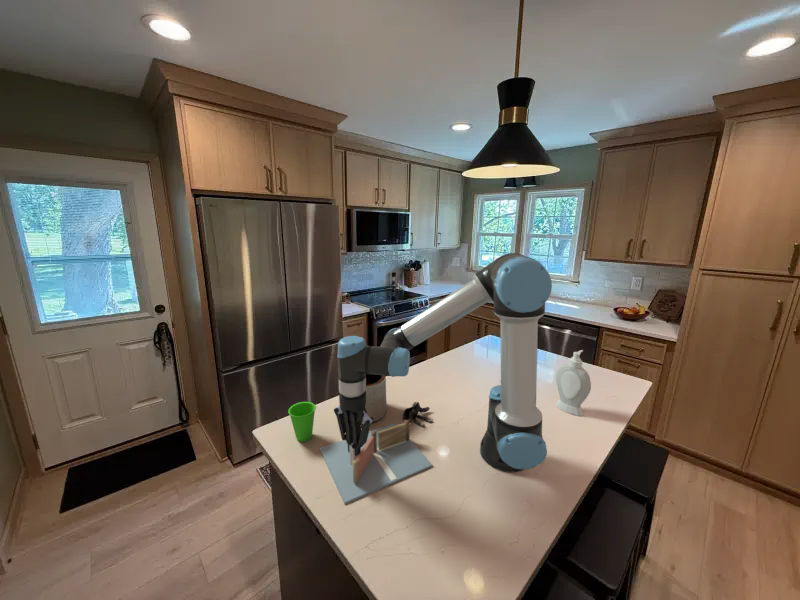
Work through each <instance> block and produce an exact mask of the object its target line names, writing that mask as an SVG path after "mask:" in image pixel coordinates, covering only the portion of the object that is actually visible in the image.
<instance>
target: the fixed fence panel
mask: <svg viewBox="0 0 800 600" xmlns="http://www.w3.org/2000/svg"><path fill="white" fill-rule="evenodd" d="M410 424H411V423H410V421H409V420H404V422H402V423H399V424H397V425H396V426H393V427H390V428H387V429H384V430H381V431H378V449H379V450H380V449H382V448H385V447H388V446H390V445H393V444H396V443H399V442H401V441H404V440H406V441H409V439H410V430H411V429H410V428H411V426H410ZM371 431H372V436H373V437H374V453H376V452H377V432H376V431H373V430H371Z"/></svg>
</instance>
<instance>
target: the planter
mask: <svg viewBox="0 0 800 600" xmlns="http://www.w3.org/2000/svg"><path fill="white" fill-rule="evenodd" d="M387 405H388V404H387V377H386V376H384V375H374V374H366V405H365V408H366V411H367V415H368V416H369V417H373V418H374V420H373V422H372V423H374V422H377V421H379V420H380V419H381V418H383V417H384V416H385V415H386V412H387ZM363 420H364V418H363V419H362V423H361V425H363Z"/></svg>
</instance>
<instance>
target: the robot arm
mask: <svg viewBox="0 0 800 600" xmlns="http://www.w3.org/2000/svg"><path fill="white" fill-rule="evenodd" d="M552 284H553V283H552V278H551V275H550V273H549V272H548V270H547V269H546V268H545V266H544V265H543V264H542V263H541V262H540V261H538V260H536V259H535V258H532V257H530V256H526V255H523V254H520V253H517V252H516V253H514V252H511V253H505V254H503V255H501V256H499V257H497V258H496V259H494V260H493V261H491V262H490V263H488V264H487V265H485V267H483V268H482V269H480V270H479V271H477V272H476V273H474V274H473V279H472V280H470V281H469V282H467V283H466V284H464V285H462V286H461V287H459V288H457V289H456V290H454V291H453V292H452V293H450V294H448V295H447V296H445V297H444V298H442V299H440V300H439V301H437V302H435V303H434V304H433V305H431V306H430V307H427V309H425V310H423V311H422V312H420V313H418V314H417V315H416V316H414V317H413V318H411V319H409V320H408V321H406V322H404V323H403V324H402V325H401V326H399V327H394V328H392V329H390V330H389V331H388V332H387V333H386V334H385V335H384V338H383V340H382V342H381V344H380V346H373V345H367V344H366V340H365V338H364V337H362V336H358V335H348V336H344V337H342V338H341V339H340V340H339V341H338V342H337V356H336V357H337V369H338V392H339V393H338V398H339V405H337V406H336V407H335V408H334V409H333V412H334V414H335V417H336V419H337V424H338V428H339V432H340V437H341V441H343V440H346V441H347V444H348V452H349V453H350V465H352V466H353V461H354V460H356V459H357V457H358V455H359V454H360V452H361V447H362V446H363V445H364V444H365V443H366V442H367V438H368V434H369V432H370V431H371V430H370V428H371V424H373V423H374V422H373V420H374V418H373V417H369V416H368V415H367V411H366V408H365V405H366V374H374V375H384V376H387V377H392V378H394V377H406V376H407V375H408V374H409V373H410V363H411V355H410V350H412V349H413V348H414V347H416V346H418V345H419V344H421V343H423V342H424V341H426V340H428V339H429V338H431V337H433V336H434V335H436V334H438V333H439V332H441V331H442V330H444V329H446V328H447V327H449V326H450V325H453V324H454V323H456V322H457V321H459V320H460V319H462V318H464V317H466V316H467V315H468V314H470V313H472V312H473V311H475V310H477V309H478V308H480V307H482V306H483V305H485V304H487V303H493V313H494V315H495V316H497V317H498V318H499V319H500V320H499V321H500V324H499V325H500V384H499V385H498V384H497V385H495V386H493V387H492V388H490V391H489V395H488V398H489V401H488V410H487V411H488V414H487V427H486V431H485V433H484V435H483V437H482V439H481V441H480V447H479V454H480V456H481V458H482V460H483V461H484V462H486V464H488V465H489V466H491V467H492V468H494V469H496V470H499V471H501V472H502V471H503V472H506V473H518V472H521V471H524V470H530V469H534V468H535V467H537V466H538V465H541V464H542V463H543V462H544V461H545V459H546V457H547V456H548V455H547V454H548V449H547V443H546V440H544V438H543V414H542V411H541V410H540V409H539V408H538V407H537V382H538V381H537V377H538V375H537V374H538V370H537V368H538V333H539V331H538V330H539V327H538V326H539V324H538V322H539V320H540V319H541V318H542V317H543V316H544V315H545V314H546V302H548V300H549V298H550V296H551V294H552V288H553V285H552ZM363 418H364V420H363V424H361V423H362V419H363Z"/></svg>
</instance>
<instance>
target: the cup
mask: <svg viewBox="0 0 800 600" xmlns="http://www.w3.org/2000/svg"><path fill="white" fill-rule="evenodd" d="M316 409H317V406H316V404H314V403H313V402H311V401H310V402H309V401H300V402H297V403H295V404H293V405H291V406H290V407H289V408H288V411H287V413H288V415H289V417H290V419H291V423H292V427H293V431H294V433H295V434H294V435H295V438H296V440H297V441H298V442H303V443H304V442H307V441H309V440H311V438H312V436H313V430H314V422H315V421H314V419H315V411H316Z"/></svg>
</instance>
